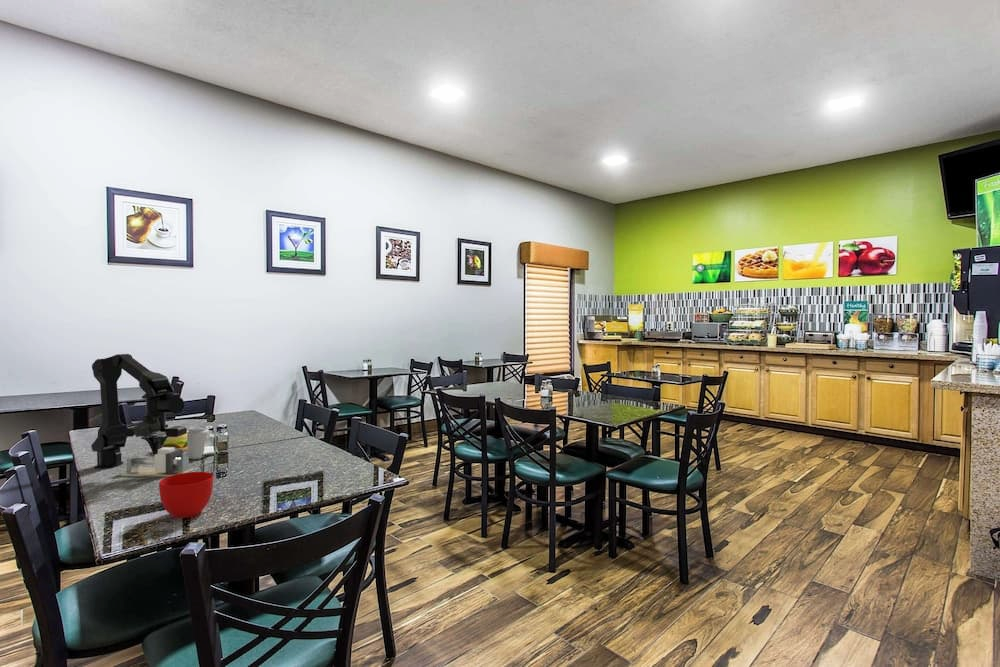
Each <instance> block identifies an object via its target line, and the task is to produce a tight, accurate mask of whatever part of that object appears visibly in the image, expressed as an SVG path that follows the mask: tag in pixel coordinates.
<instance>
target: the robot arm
mask: <svg viewBox="0 0 1000 667" xmlns="http://www.w3.org/2000/svg"><path fill="white" fill-rule="evenodd" d="M91 369H92V373H93V374H92V375H93V377H94V378H95V379H96V380H97V382H98V383H99V387H100V400H101V402H100V404H101V415H102V416H101V417H102V418H101V419H102V423H101V424H100V426H99V428H98V429H97V437H96V438H95V440H94V441H93V443H92V444H91V445H90V446H91V447H90V448H91V451H92V452H96V456H97V458H96V462H97V463H96V465H94V466H93V468H98V469H100V468H101V469H102V468H107V469H110V468H114V467H117V466H119V465H122V464H124V463H125V461H122V452H121V448H125V446H126V442H127V439H128V437H131V438H133V437H134V436H135V437H136V438H139V437H140V439H141V440H145V441H146V442H147V443H148V445H149V447H150V449H151V452H152V454H153V456H154V457H155V454H158V449H161V448H163V447H162V446H163V444H164V442H165V441H166V439H167V438H168V437H178V436H181V435H184V434H187V431H188V429H187V427H186V426H185V425H174V426H171V427H169V424H168V423H167V424H166V420H167V417H169V414H178V413H180V412H182V411H183V410H184V407H185V401H184V399H183V398H182V397H180V393H176V391H175V388H174V387H173V385H172V384H171V382H170V380H169V378H168V377H167V376H166V375H164V374H162V373H159V372H155V371H152V370H150V369H148V367H145V365H143V364H142V363H140V362H139V361H137V360H136V359H135V358H134V357H133V356H132V355H131V354H129V353H120V354H117V353H116V354H115V355H112V356H109V357H104V358H97V359H96V360H94V362H93V363H92V364H91ZM122 371H125V372H126V373H127V374H129V375H130V376H131V377H132V378H134V379H135V380H136V381H137V382H138V386H139V388H140V389H141V390H142V391H143V392H144V393H145V394H144V395H142V396H141V399H144V400H145V415H143V417H142V421H141V422H139V423H137V424H136V425H133V426H130V427H128V426H127V424H124V423H123V422H121V418H120V406H119V394H118V392H119V391H118V381H119V379H120V378H121V376H122V373H123V372H122Z"/></svg>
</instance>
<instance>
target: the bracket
mask: <svg viewBox="0 0 1000 667" xmlns="http://www.w3.org/2000/svg"><path fill="white" fill-rule="evenodd" d="M172 451H175V447H162V448H161V449H158V454H155V456H154V458H155V465H154V467H155V472H158V473H166V454H167V453H170V452H172ZM174 458H175V457H174ZM173 466H174V465H173Z"/></svg>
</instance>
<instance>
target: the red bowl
mask: <svg viewBox="0 0 1000 667" xmlns="http://www.w3.org/2000/svg"><path fill="white" fill-rule="evenodd" d="M213 488H214V474H213V473H211V472H208V471H191V472H190V471H189V472H187V473H181V474H176V475H172V476H169V477H163V478H162V479H161V480H160V481H159V482H158V489H159V490H158V491H159V498H160V501H161V504H162V506H163V508H164V509H165V510H166V512H167V513H169V514H170V515H171V516H172V517H173V518H174V519H175V518H176V519H187V518H192V517H195V516H197V515H200V513H202V511H203V510H204V509H205V508H206V506H207V505H208V503H209V502H210V500H211V497H212V494H213Z"/></svg>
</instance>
